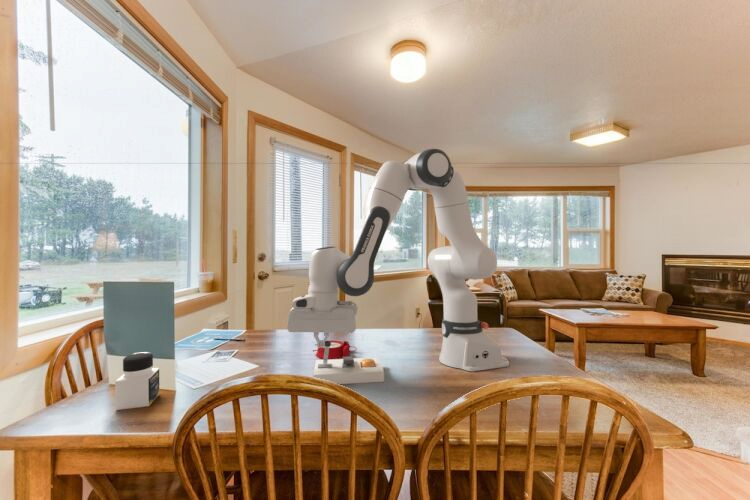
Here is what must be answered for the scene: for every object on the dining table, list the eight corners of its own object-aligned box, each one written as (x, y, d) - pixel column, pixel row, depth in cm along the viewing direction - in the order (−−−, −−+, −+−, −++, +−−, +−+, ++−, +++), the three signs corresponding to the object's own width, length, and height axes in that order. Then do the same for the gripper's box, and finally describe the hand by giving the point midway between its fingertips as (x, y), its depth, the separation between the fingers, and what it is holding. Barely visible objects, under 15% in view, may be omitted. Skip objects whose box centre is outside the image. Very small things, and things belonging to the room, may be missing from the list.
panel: (378, 366, 104) (378, 356, 104) (384, 381, 92) (384, 369, 92) (316, 369, 102) (315, 358, 102) (313, 385, 90) (313, 373, 90)
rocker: (352, 359, 101) (352, 356, 101) (353, 363, 94) (353, 360, 94) (343, 360, 100) (343, 356, 101) (343, 364, 94) (343, 360, 94)
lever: (328, 362, 98) (331, 340, 98) (328, 364, 96) (331, 341, 96) (321, 361, 97) (324, 339, 97) (321, 363, 95) (324, 341, 95)
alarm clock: (314, 341, 121) (353, 331, 122) (318, 357, 121) (357, 347, 122) (311, 350, 111) (353, 339, 112) (315, 368, 111) (357, 356, 112)
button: (373, 370, 100) (373, 358, 100) (374, 374, 96) (374, 362, 96) (361, 370, 100) (361, 359, 100) (362, 375, 96) (362, 363, 96)
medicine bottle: (149, 406, 79) (149, 357, 79) (114, 411, 77) (114, 360, 77) (159, 394, 85) (159, 348, 85) (128, 397, 83) (127, 351, 83)
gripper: (356, 299, 101) (355, 343, 101) (290, 298, 98) (288, 343, 98) (358, 302, 94) (356, 350, 94) (286, 301, 92) (284, 350, 92)
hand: (321, 346), depth 96 cm, fingers closed
